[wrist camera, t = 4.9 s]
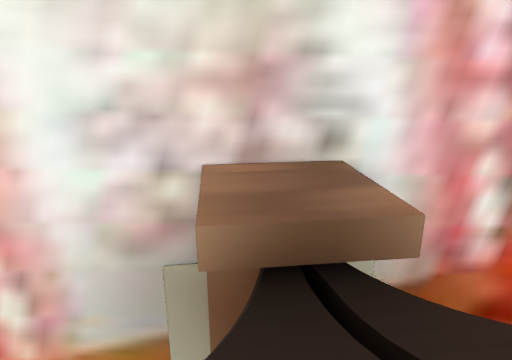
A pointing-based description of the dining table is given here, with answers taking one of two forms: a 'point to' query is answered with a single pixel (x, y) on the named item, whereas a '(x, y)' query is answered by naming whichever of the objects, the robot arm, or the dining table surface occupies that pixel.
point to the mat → (197, 309)
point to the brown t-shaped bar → (291, 226)
